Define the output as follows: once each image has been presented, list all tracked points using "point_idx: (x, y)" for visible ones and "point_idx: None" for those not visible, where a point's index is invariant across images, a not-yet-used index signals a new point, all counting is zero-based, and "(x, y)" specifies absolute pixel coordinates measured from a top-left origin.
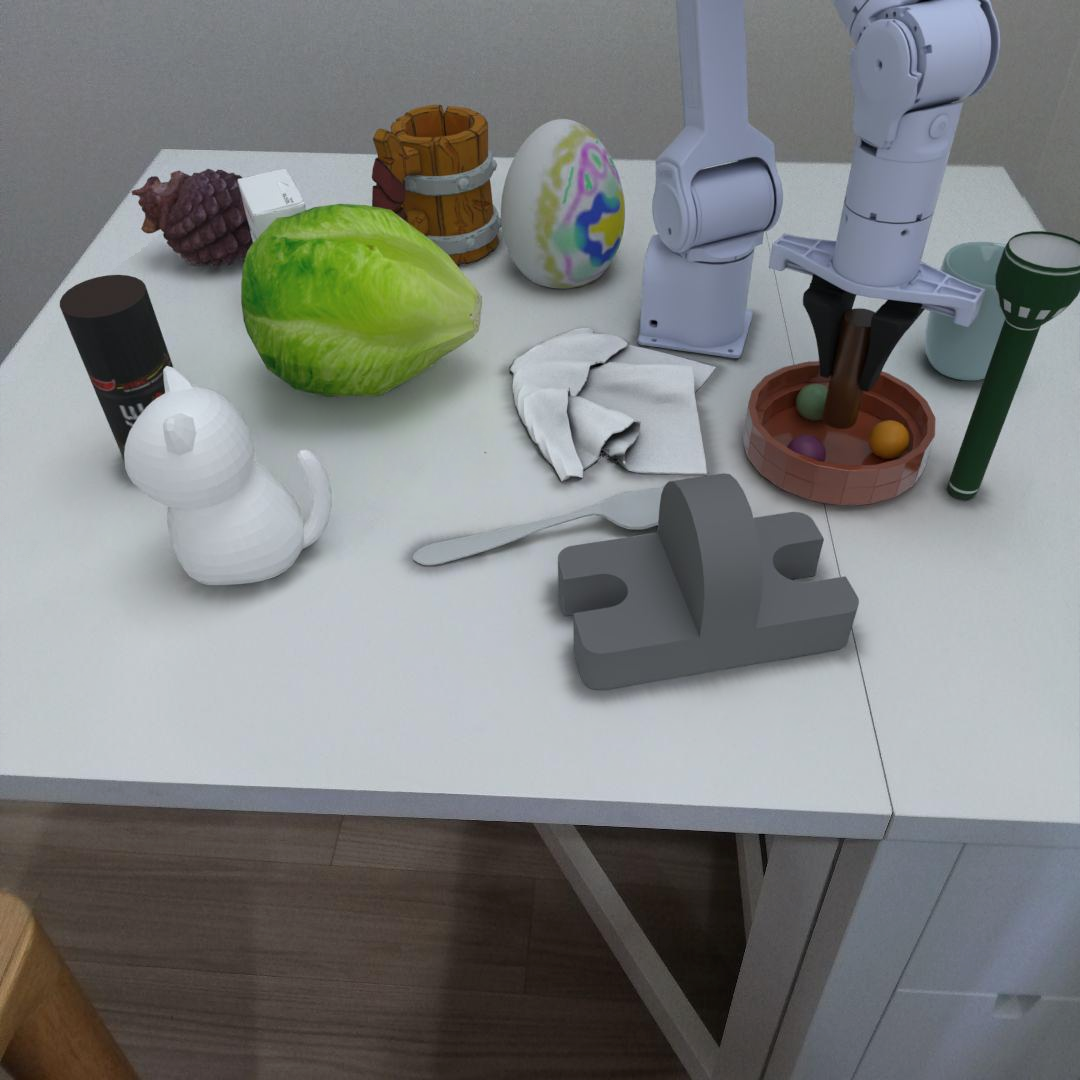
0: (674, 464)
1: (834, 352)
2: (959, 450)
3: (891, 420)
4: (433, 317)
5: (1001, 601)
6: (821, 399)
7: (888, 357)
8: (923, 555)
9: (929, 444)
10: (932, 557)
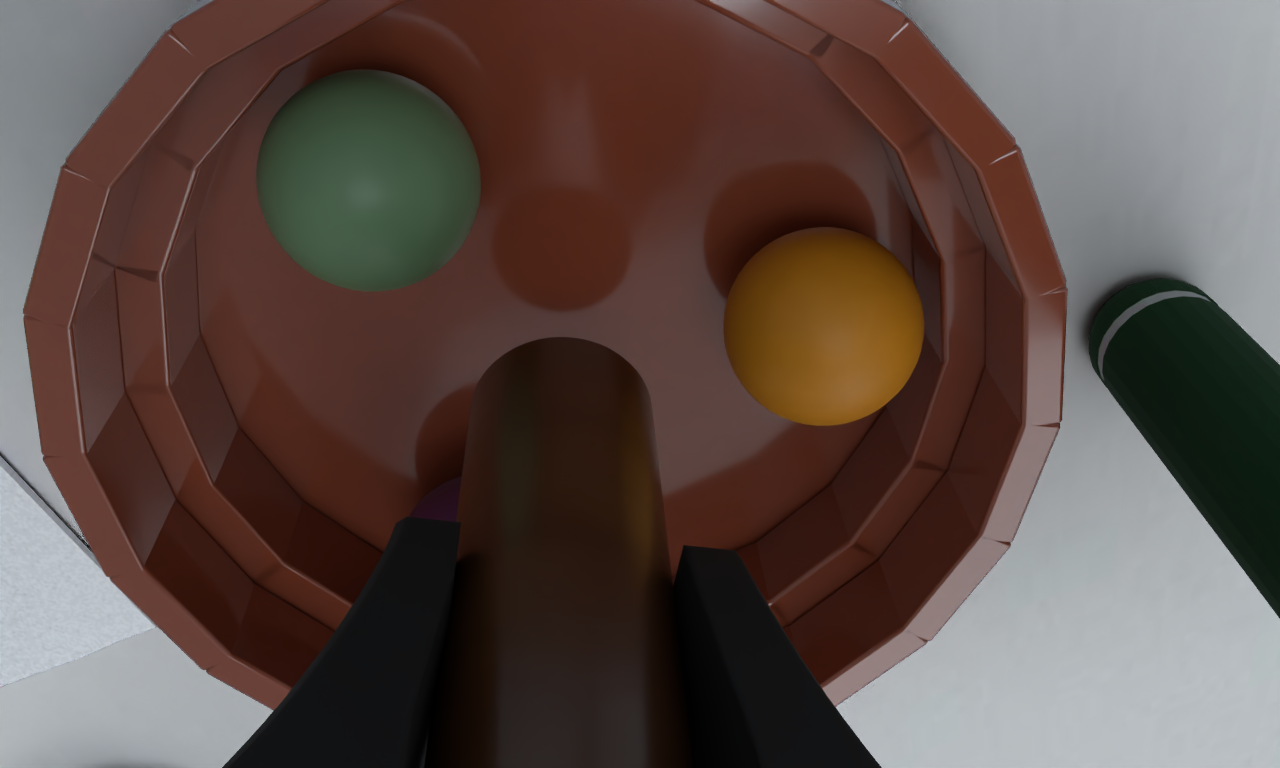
0: (15, 638)
1: (425, 748)
2: (1175, 455)
3: (827, 325)
4: None
5: (1221, 723)
6: (412, 270)
7: (796, 650)
8: (993, 659)
9: (1033, 491)
10: (1022, 656)
